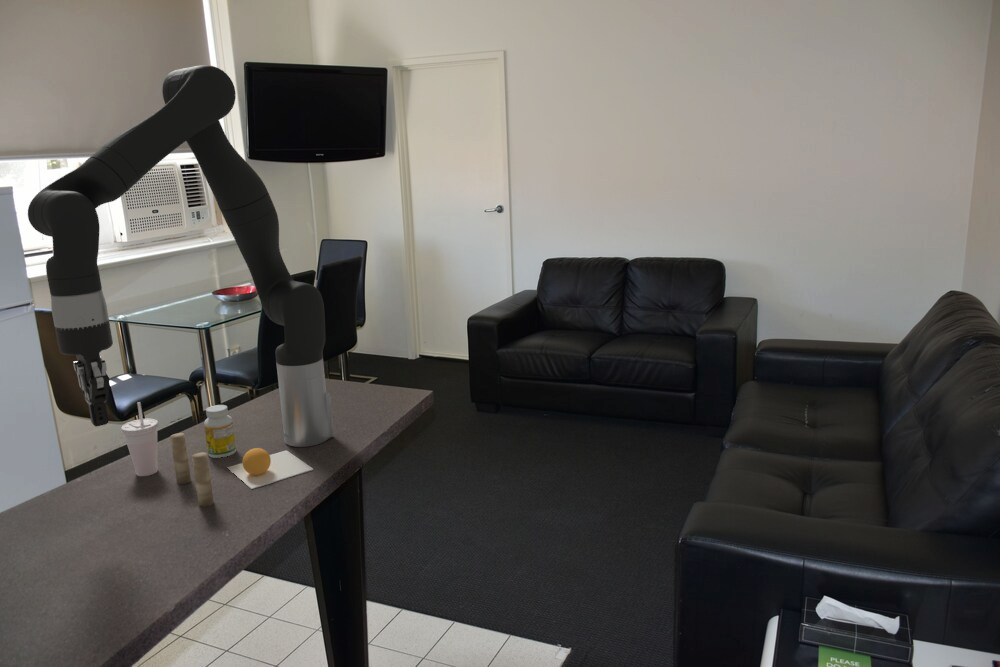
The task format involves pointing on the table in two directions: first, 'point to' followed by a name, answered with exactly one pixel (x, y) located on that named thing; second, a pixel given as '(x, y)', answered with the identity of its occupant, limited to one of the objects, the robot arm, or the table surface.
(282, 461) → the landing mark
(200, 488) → the post
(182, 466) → the post
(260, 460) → the ball
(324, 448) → the table surface
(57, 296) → the robot arm
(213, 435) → the supplement bottle
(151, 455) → the smoothie
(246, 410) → the table surface
